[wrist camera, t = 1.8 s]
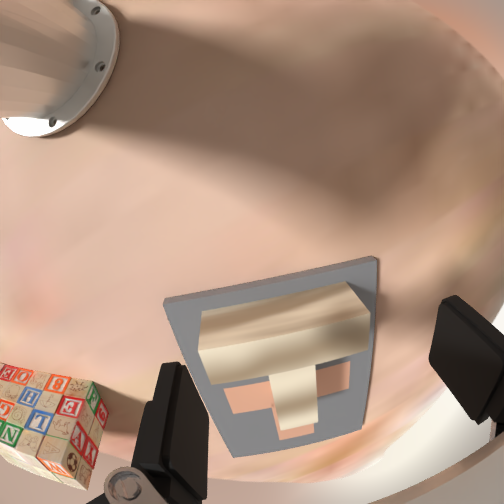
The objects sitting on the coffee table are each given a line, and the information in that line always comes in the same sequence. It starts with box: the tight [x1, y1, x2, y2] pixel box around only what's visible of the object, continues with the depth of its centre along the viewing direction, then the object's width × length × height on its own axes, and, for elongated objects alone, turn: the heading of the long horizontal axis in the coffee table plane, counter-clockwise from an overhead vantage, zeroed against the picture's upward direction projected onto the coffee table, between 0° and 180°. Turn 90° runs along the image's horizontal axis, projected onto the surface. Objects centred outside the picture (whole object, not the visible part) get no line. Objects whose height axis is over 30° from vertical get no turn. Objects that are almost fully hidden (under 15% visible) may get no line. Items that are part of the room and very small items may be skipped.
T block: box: [198, 281, 370, 431], centre depth 23 cm, size 12×12×5 cm
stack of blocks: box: [0, 363, 109, 490], centre depth 21 cm, size 21×6×12 cm, turn 90°
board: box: [163, 256, 377, 458], centre depth 28 cm, size 26×18×1 cm
